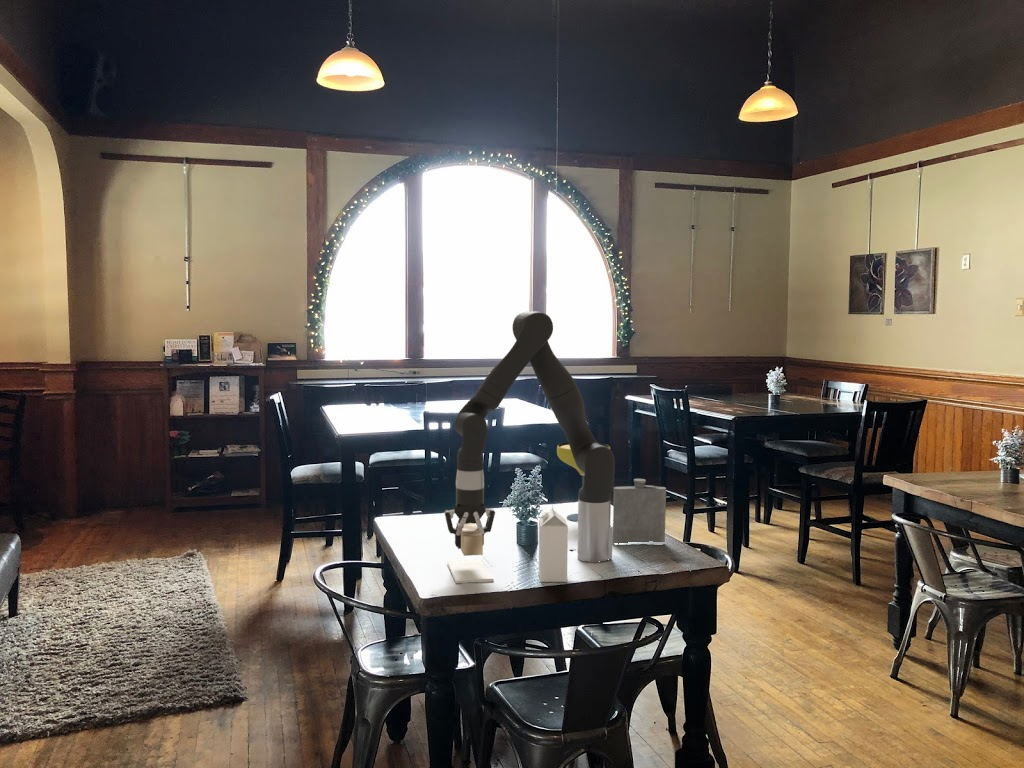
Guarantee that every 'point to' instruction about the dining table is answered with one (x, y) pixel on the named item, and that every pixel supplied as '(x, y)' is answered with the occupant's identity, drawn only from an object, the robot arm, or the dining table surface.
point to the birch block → (471, 540)
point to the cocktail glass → (568, 458)
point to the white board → (470, 571)
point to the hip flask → (639, 513)
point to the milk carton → (553, 547)
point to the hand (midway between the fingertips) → (469, 547)
